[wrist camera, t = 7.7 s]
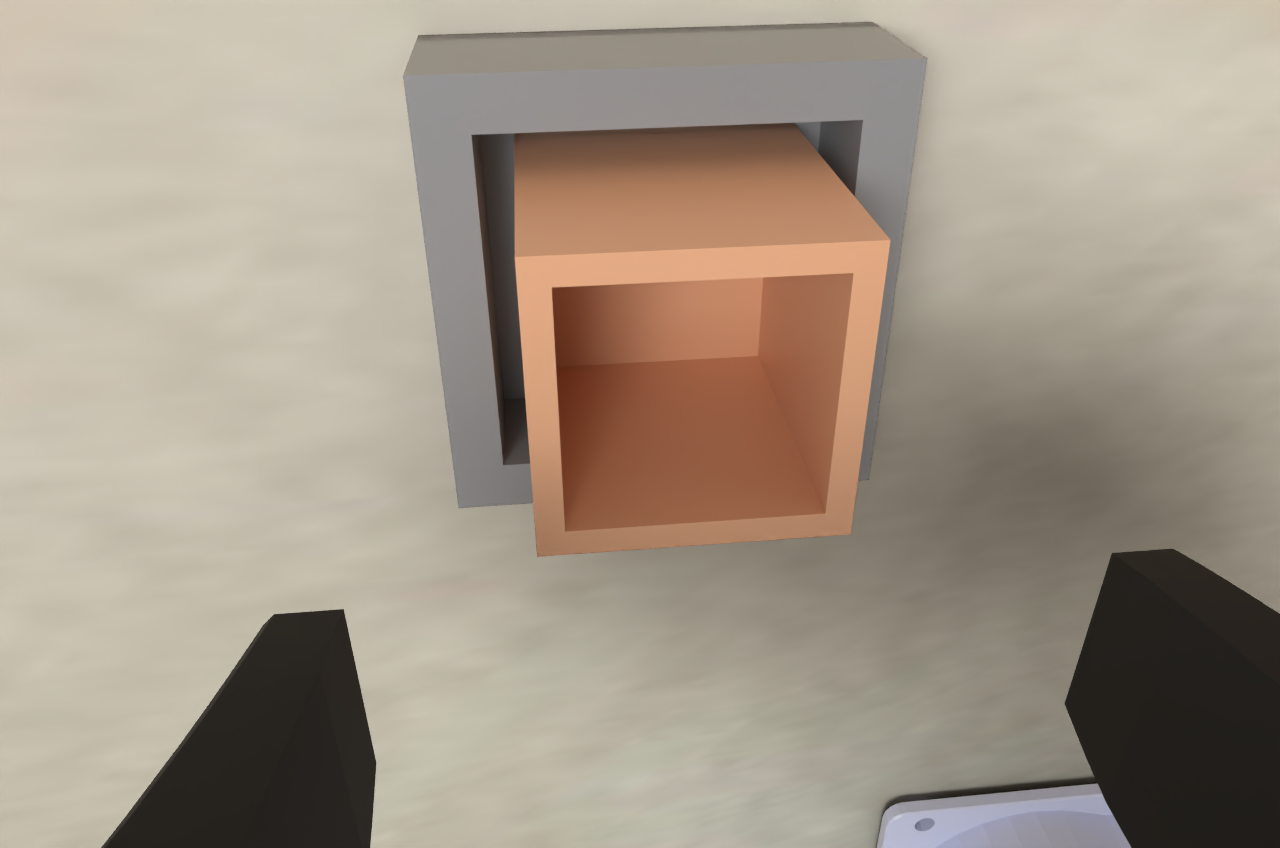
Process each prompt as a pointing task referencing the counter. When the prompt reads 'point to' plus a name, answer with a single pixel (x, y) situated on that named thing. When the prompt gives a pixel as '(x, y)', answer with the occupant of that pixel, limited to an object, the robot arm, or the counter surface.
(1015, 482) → the counter surface
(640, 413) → the box
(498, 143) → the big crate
